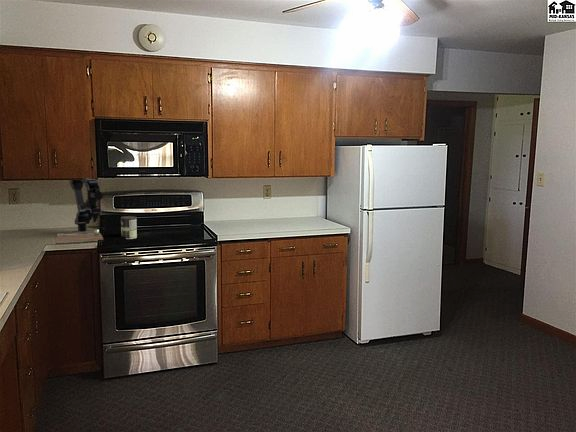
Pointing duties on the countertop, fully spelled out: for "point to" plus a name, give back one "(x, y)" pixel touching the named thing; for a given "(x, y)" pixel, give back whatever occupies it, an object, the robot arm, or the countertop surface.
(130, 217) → the coffee can
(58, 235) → the base
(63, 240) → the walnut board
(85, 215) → the robot arm
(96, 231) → the tong arm
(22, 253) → the countertop surface
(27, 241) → the countertop surface
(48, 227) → the countertop surface
